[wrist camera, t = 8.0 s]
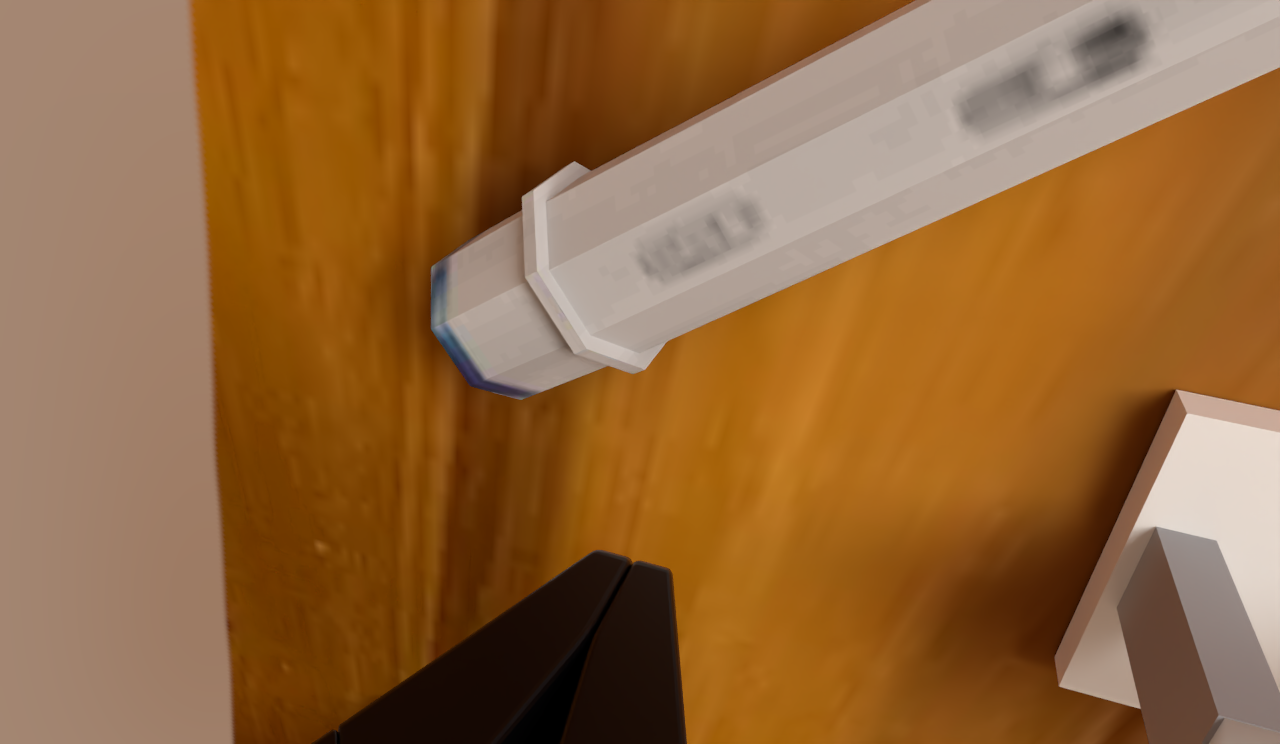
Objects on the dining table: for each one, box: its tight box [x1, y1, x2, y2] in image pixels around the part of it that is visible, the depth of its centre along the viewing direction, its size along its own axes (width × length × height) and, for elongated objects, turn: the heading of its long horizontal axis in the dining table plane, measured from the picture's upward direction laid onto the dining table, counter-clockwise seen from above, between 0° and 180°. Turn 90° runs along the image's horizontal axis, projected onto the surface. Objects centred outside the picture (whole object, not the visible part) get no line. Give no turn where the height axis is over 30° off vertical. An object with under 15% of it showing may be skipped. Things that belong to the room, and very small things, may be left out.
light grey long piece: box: [431, 0, 1280, 400], centre depth 15 cm, size 5×7×25 cm
